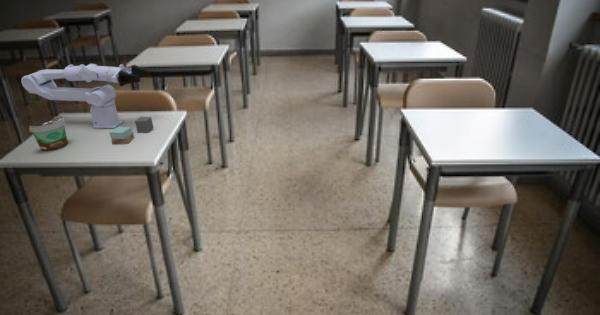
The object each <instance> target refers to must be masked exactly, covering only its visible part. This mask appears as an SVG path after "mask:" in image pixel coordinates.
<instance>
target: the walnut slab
mask: <svg viewBox="0 0 600 315" xmlns="http://www.w3.org/2000/svg"><path fill="white" fill-rule="evenodd" d="M132 133H133V134H131V135H130V136H128V137H127V138H125V139H113V138H110V140H111V143H112V145H128V144H130V143H131V142H132V140H133V139H134V138H135V136H134V132H133V131H132Z"/></svg>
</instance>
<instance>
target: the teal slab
mask: <svg viewBox="0 0 600 315" xmlns="http://www.w3.org/2000/svg"><path fill="white" fill-rule="evenodd" d="M132 129H133V128H132V126H131V127H129V126H117V127H115V128H113V129H112V130H110V131H109V137H110V139H112V138H113V139H125V138H127V137H128V136H130V135H131V134H133V135H134V132H133V130H132ZM132 132H133V133H132Z"/></svg>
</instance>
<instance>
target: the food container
mask: <svg viewBox="0 0 600 315" xmlns="http://www.w3.org/2000/svg"><path fill="white" fill-rule="evenodd" d="M65 125H66V120H65V118H64V117H63V116H62V115H59V118H56V119H53V120H47V121H44V122H43V123H40V124H37V125H36V126H35V125H34V126H33V125H29V132H30V133H32V135H33V137H34V139H35V141H36V142H37V145H38V147H39V150H40V151H43V152H50V151H56V150H59V149H62V148H65V147H66V146H67V145H68V143H69V142H68V137H67V133H66V132H67V131H66V127H65Z"/></svg>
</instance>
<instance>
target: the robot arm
mask: <svg viewBox="0 0 600 315" xmlns="http://www.w3.org/2000/svg"><path fill="white" fill-rule="evenodd" d="M150 77H151V74H150V70H147V69H143V68H141V67H139V66H138V65H136V64H133V65H131V67H126V66H125V65H124V64H123V63H121V64H119V66H107V65H98V64H96V63H88V64H87V65H85V64H79V65H74V64H69V65H67V66H65V68H64V69H49V68H48V69H39V70H37V71H35V72H33V73H30V74H28V75H24V76H22V77H21V85H22V87H23V88H24V89H25V90H26V91H27V93H29V94H35V95H38V96H39V97H42V98H44V99H47V100H51V101H67V102H68V101H69V102H71V101H72V102H86V103H87V105H91V106H90V109H89V114H90V117H91V121H92V123H93V126H92V128H93V129H96V128H97V129H115V128H117V127H119V125H121V124H122V123H123V122H124V121H125V120H123V119H120V118H119V115H118V110H117V106H116V103H115V102H116V98H117V91H116V89H115V88H114V87H113V86H112V85H111V84H105V85H103V86H96V87H91V88H88V87H87V88H84V87H65V86H64V87H63V86H62V87H60V86H59V87H58V86H57V84H56V82H55V81H54V80H60V79H66V81H69V82H77V81H79V82H81V81H85V82H86V83H90V82H92V81H97V82H98V81H99V82H110V83H115V84H116V83H117V84H118V85H119V86H120V87H123V86H125V85H129V84H135V83H140V82H141V78H150Z"/></svg>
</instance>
